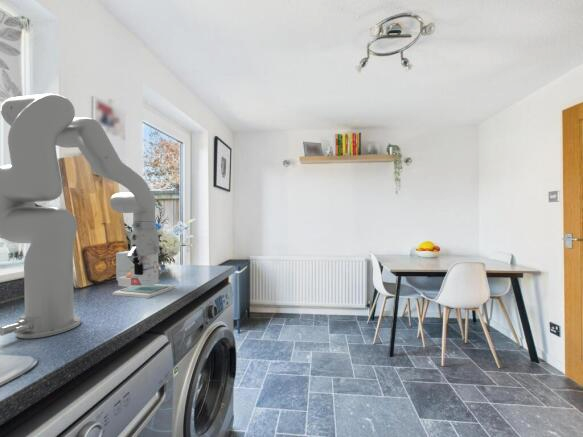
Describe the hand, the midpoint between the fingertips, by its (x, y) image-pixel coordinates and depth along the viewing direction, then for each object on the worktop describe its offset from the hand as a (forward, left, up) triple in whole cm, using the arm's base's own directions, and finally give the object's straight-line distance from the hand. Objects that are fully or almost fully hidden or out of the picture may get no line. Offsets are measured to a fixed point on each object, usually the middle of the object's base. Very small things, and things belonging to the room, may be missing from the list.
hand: (144, 272), depth 106 cm
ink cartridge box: (0, 0, -5) cm, 5 cm away
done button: (+7, +13, -5) cm, 16 cm away
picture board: (0, 0, -7) cm, 7 cm away
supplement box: (+15, +23, -8) cm, 28 cm away
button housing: (+7, +13, -7) cm, 17 cm away
